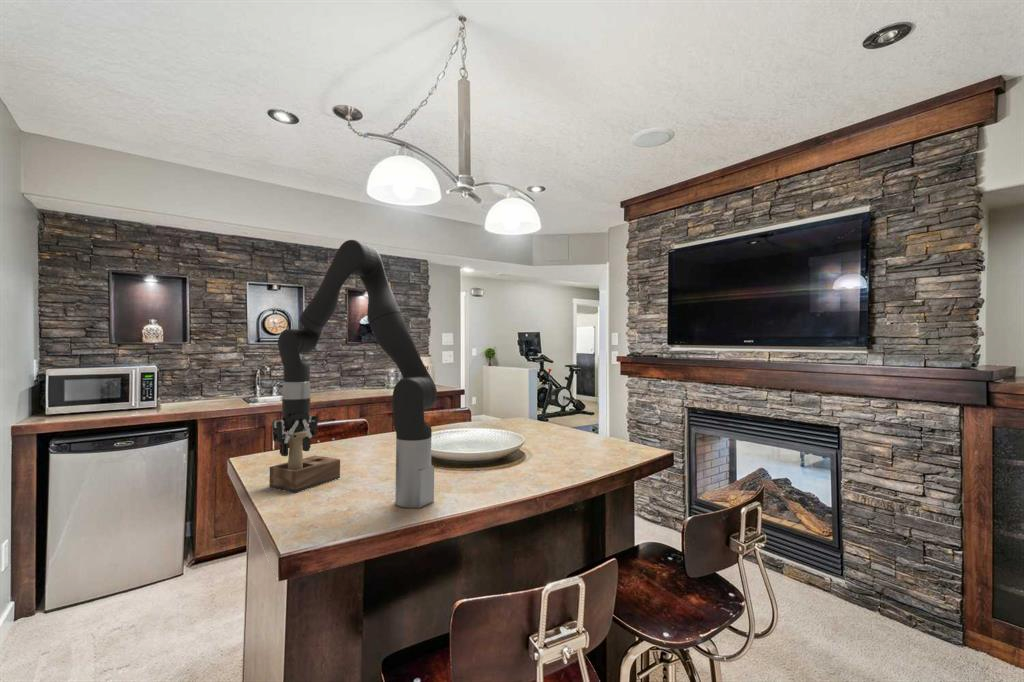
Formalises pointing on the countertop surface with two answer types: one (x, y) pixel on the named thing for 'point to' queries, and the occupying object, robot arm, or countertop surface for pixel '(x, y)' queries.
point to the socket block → (305, 474)
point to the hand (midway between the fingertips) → (295, 453)
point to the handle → (296, 450)
